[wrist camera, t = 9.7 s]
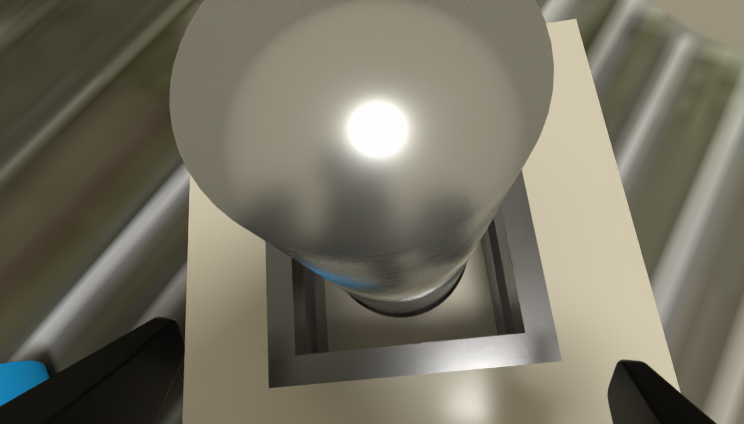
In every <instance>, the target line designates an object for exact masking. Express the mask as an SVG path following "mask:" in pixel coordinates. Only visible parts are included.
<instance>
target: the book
mask: <svg viewBox="0 0 744 424" xmlns="http://www.w3.org/2000/svg"><path fill="white" fill-rule="evenodd" d="M49 378H50V377H49V374H48V372H47V369H46V367H45V365H44V364H43V363H41V362H37V361H17V362H10V363H4V364H0V406H1V405H3V404H5V403H7V402H8V401H10V400H12V399H14V398H15V397H17V396H19V395H21V394H22V393H24V392H26V391H28V390H29V389H31V388H33V387H35V386H36V385H38V384H40V383H42V382H43V381H45V380H47V379H49Z"/></svg>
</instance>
